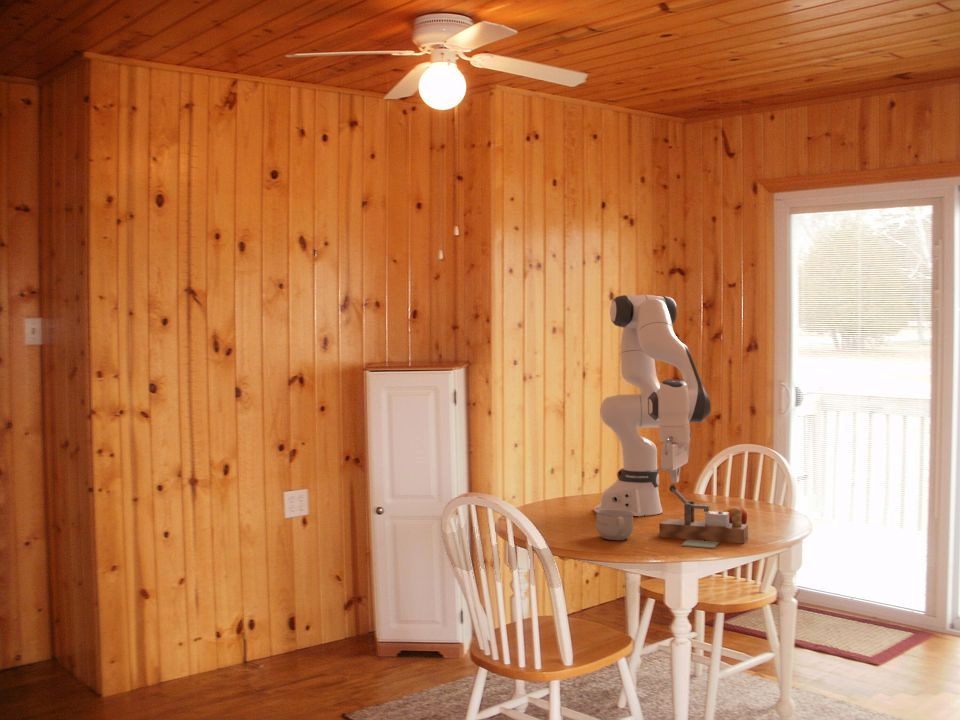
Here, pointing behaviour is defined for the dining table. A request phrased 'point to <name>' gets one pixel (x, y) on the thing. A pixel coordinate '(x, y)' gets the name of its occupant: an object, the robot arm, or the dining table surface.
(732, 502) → the dining table surface
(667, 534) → the brown lever base
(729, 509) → the fruit
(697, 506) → the lever
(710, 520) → the box with chrome knob
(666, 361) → the robot arm
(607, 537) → the teacup
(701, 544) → the mat
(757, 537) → the dining table surface
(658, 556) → the dining table surface
